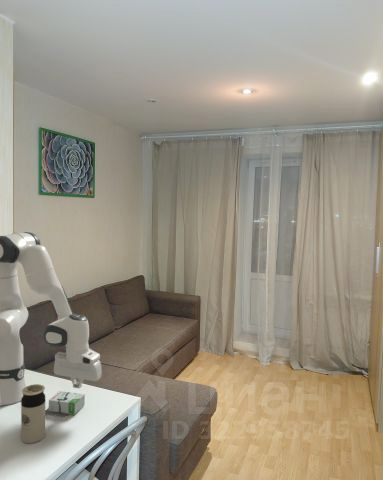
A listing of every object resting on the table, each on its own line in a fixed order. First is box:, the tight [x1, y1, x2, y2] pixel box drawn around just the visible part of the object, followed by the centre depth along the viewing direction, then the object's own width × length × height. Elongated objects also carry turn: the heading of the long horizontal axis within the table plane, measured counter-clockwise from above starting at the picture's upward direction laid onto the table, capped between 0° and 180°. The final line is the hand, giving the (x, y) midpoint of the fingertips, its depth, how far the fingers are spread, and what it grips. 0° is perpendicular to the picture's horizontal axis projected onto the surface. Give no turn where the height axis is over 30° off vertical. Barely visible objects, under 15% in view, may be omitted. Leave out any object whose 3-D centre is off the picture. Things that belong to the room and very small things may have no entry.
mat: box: [45, 408, 69, 418], centre depth 156 cm, size 10×13×1 cm
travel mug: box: [20, 384, 46, 444], centre depth 135 cm, size 8×8×18 cm
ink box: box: [47, 390, 86, 415], centre depth 155 cm, size 9×5×12 cm
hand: (77, 387), depth 154 cm, fingers closed
